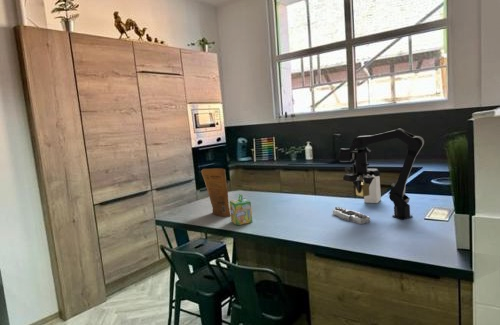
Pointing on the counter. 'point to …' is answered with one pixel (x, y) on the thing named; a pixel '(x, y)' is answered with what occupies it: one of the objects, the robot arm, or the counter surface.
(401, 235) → the counter surface
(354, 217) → the chrome-studded grey beam
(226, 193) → the pancake mix bag
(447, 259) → the counter surface
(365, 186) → the studded golden block
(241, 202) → the chalk box
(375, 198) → the milk carton
